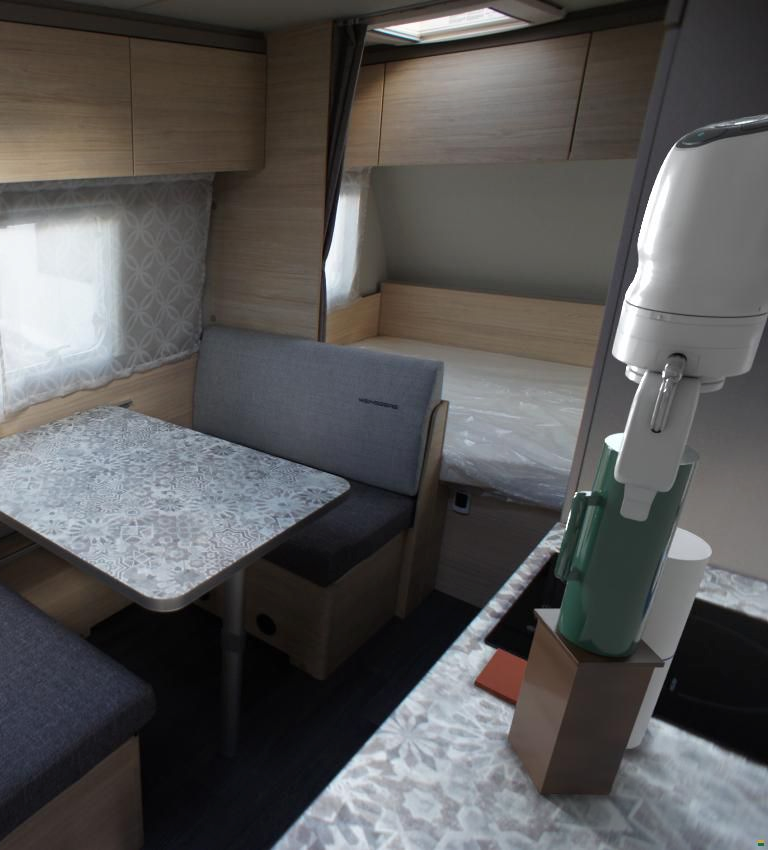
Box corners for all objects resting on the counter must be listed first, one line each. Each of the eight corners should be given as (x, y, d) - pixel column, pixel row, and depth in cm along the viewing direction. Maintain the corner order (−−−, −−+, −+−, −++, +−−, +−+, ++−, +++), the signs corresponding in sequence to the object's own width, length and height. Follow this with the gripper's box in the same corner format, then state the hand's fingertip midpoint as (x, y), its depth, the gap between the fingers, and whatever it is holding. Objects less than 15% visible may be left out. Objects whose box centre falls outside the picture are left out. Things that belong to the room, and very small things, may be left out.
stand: (571, 737, 76) (611, 608, 69) (615, 799, 69) (665, 662, 61) (501, 736, 76) (534, 608, 69) (537, 799, 69) (578, 662, 62)
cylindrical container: (644, 760, 73) (717, 568, 63) (567, 733, 76) (625, 547, 66) (639, 715, 78) (705, 532, 68) (568, 692, 82) (621, 514, 72)
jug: (612, 612, 68) (667, 432, 60) (653, 658, 62) (720, 465, 54) (524, 610, 69) (567, 432, 61) (557, 655, 63) (608, 464, 55)
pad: (497, 652, 88) (498, 648, 88) (558, 681, 83) (560, 676, 83) (473, 685, 83) (474, 680, 83) (537, 717, 78) (539, 712, 78)
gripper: (731, 384, 44) (675, 560, 49) (738, 317, 58) (694, 460, 63) (615, 368, 48) (575, 533, 53) (648, 309, 62) (614, 445, 67)
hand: (640, 493), depth 59 cm, fingers open, 8 cm apart
